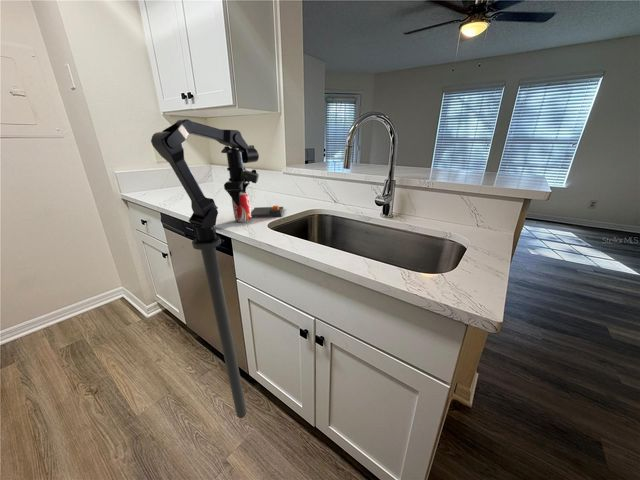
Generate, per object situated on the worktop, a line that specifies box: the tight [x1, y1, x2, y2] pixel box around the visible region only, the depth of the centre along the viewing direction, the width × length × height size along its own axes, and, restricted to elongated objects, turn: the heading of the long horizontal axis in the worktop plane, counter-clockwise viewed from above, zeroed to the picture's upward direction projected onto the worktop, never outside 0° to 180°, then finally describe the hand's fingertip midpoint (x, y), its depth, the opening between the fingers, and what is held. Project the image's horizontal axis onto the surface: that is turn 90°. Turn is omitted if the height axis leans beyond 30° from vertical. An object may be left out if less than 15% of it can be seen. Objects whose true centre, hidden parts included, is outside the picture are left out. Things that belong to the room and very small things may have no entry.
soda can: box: [231, 191, 252, 223], centre depth 110 cm, size 7×7×12 cm
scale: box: [251, 206, 285, 219], centre depth 121 cm, size 14×12×3 cm
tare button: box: [272, 205, 280, 210], centre depth 117 cm, size 3×3×2 cm
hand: (240, 202), depth 109 cm, fingers open, 9 cm apart
